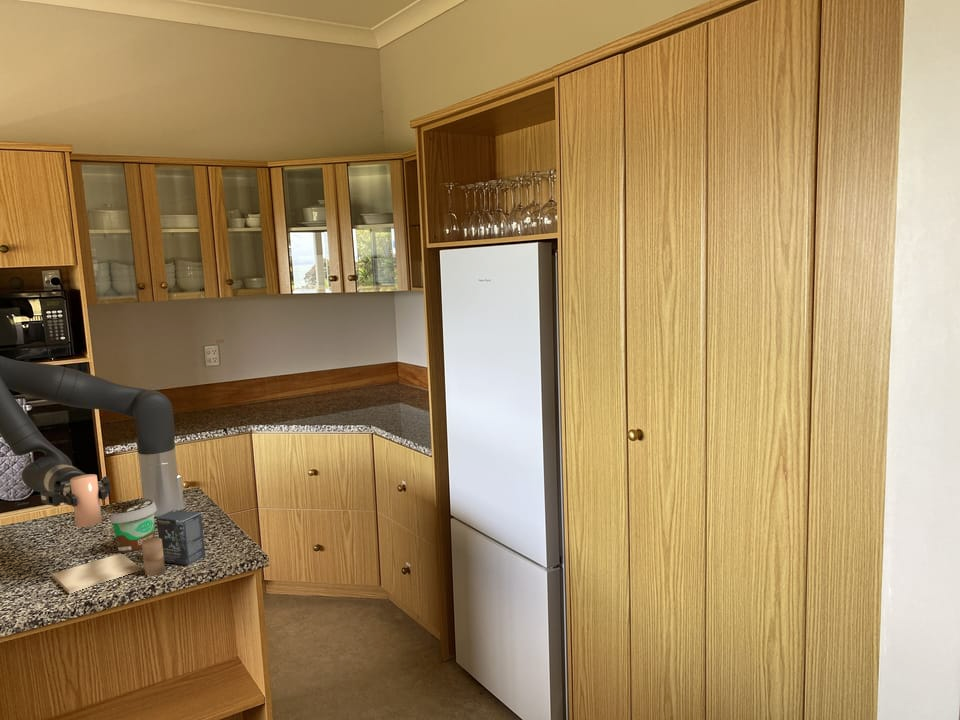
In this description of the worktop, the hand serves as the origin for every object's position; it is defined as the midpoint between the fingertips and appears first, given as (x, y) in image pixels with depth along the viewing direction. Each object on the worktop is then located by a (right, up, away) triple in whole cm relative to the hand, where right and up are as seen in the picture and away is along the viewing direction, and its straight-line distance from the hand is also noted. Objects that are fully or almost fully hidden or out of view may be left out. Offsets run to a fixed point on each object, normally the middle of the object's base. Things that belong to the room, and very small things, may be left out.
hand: (89, 498), depth 150 cm
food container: (+2, -15, +20) cm, 25 cm away
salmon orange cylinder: (-2, -6, +3) cm, 7 cm away
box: (+16, -16, +10) cm, 25 cm away
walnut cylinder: (+12, -17, +4) cm, 21 cm away
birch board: (-1, -17, +4) cm, 18 cm away
